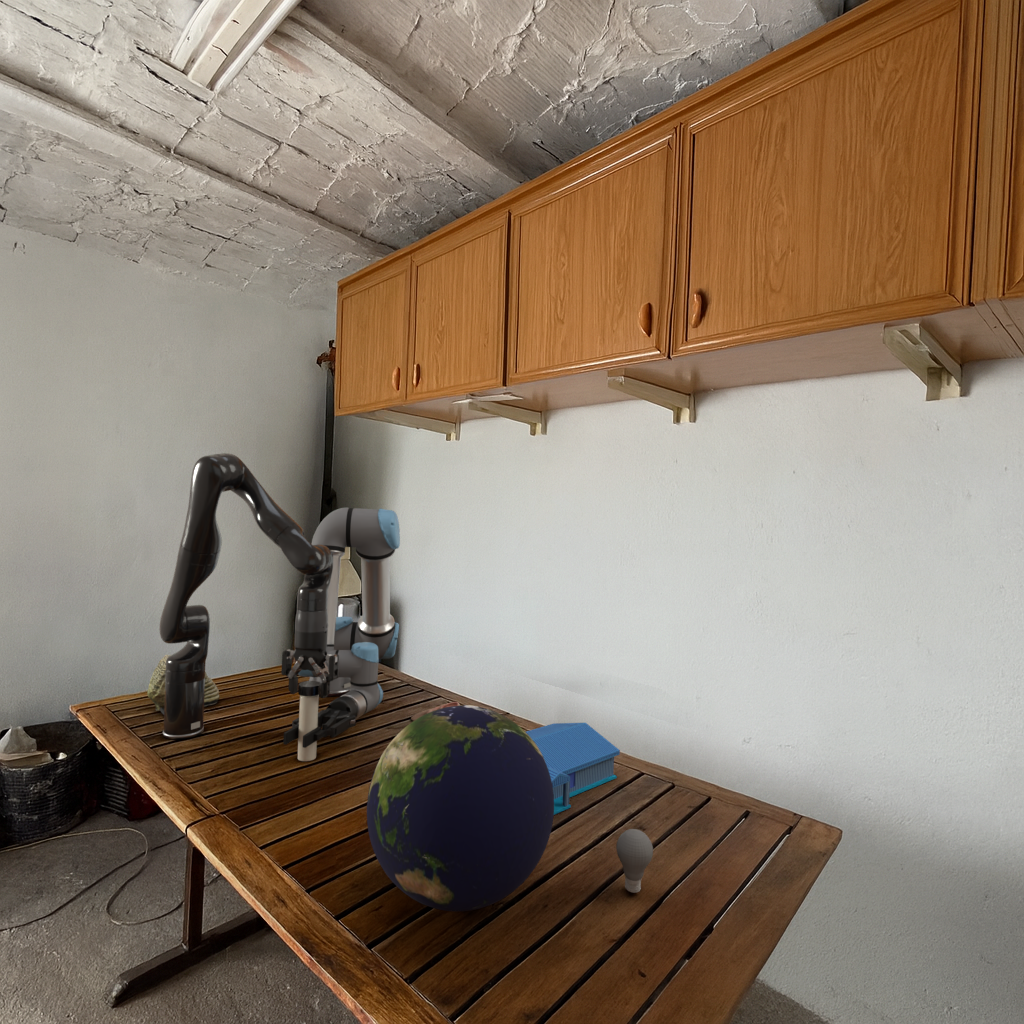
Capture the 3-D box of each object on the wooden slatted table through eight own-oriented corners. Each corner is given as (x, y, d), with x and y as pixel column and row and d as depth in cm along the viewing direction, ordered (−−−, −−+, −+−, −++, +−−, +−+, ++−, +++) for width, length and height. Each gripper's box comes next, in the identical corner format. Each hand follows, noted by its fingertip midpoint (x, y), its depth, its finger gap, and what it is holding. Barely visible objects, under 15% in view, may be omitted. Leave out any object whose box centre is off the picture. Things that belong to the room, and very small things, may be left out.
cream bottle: (295, 761, 151) (298, 689, 150) (299, 754, 155) (301, 684, 155) (314, 761, 151) (317, 689, 151) (317, 753, 156) (320, 684, 155)
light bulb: (610, 879, 108) (613, 822, 108) (644, 879, 109) (647, 822, 109) (619, 902, 102) (622, 840, 102) (655, 901, 103) (658, 840, 103)
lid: (305, 688, 156) (306, 679, 156) (325, 691, 155) (325, 682, 155) (293, 695, 151) (294, 685, 151) (313, 697, 150) (313, 688, 150)
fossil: (144, 707, 182) (145, 655, 182) (212, 696, 194) (213, 647, 194) (151, 716, 175) (153, 662, 175) (221, 703, 188) (223, 653, 188)
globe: (322, 922, 94) (330, 722, 94) (423, 829, 122) (430, 674, 122) (507, 988, 83) (517, 762, 83) (572, 869, 111) (580, 699, 110)
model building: (501, 837, 120) (504, 785, 120) (427, 790, 139) (429, 744, 138) (628, 782, 147) (630, 739, 147) (552, 748, 165) (553, 710, 165)
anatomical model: (407, 708, 179) (421, 696, 191) (406, 722, 179) (420, 709, 191) (452, 713, 177) (463, 701, 188) (451, 727, 177) (463, 714, 188)
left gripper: (276, 628, 150) (273, 696, 151) (330, 633, 147) (327, 703, 147) (293, 622, 158) (291, 687, 158) (346, 627, 154) (343, 694, 155)
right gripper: (374, 727, 168) (327, 761, 146) (316, 719, 173) (261, 750, 150) (376, 699, 168) (328, 729, 145) (317, 691, 173) (262, 719, 150)
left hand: (309, 695), depth 153 cm, fingers open, 7 cm apart
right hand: (294, 740), depth 148 cm, fingers closed on cream bottle, 4 cm apart
